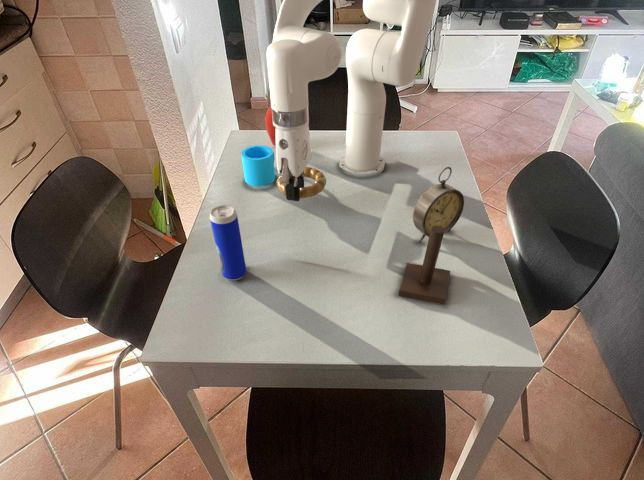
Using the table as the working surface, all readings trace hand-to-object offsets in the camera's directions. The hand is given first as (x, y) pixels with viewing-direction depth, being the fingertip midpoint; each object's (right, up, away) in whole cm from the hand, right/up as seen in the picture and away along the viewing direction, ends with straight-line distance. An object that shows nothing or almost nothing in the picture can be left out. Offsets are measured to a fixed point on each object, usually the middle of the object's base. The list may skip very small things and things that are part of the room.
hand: (295, 195), depth 101 cm
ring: (+1, +4, +2) cm, 5 cm away
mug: (-9, +10, +16) cm, 21 cm away
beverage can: (-13, -21, -10) cm, 26 cm away
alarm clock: (+31, -10, -2) cm, 33 cm away
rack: (+27, -24, -14) cm, 38 cm away
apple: (-4, +24, +27) cm, 37 cm away
